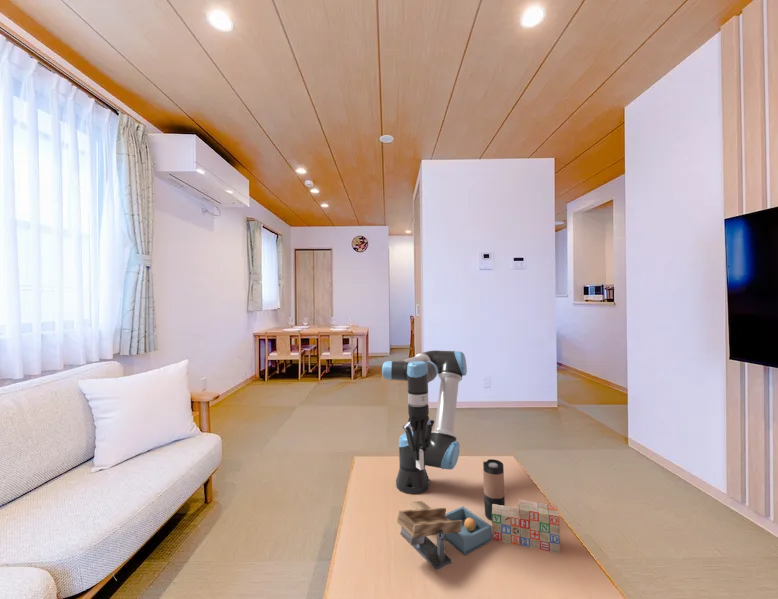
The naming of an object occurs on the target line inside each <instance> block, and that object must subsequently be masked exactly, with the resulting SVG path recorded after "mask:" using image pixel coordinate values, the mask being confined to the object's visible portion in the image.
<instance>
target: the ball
mask: <svg viewBox="0 0 778 599" xmlns="http://www.w3.org/2000/svg"><path fill="white" fill-rule="evenodd" d="M464 526H465V528H466V529H467V530H468V531H473V530H474V529H475V527H476V523H475V521H474V520H473V519H472V518H467V519H466V520H465V522H464Z"/></svg>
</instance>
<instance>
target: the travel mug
mask: <svg viewBox="0 0 778 599" xmlns="http://www.w3.org/2000/svg"><path fill="white" fill-rule="evenodd" d="M482 463H483V469H482V470H483V501H484V502H483V503H484V516H485V517H486V518H487V520H489V521H491V522H492V504H496V505H503V506H506V505H505V504H506V502H505V500H506V498H505V497H506V495H505V474H504V472H505V471H504V463H503V462H502V461H500V460H498V459H493V458H490V459H487V460H486V461H483V462H482Z"/></svg>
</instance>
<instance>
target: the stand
mask: <svg viewBox="0 0 778 599" xmlns="http://www.w3.org/2000/svg"><path fill="white" fill-rule="evenodd" d="M445 538H446V535H445V534H444V531H443V530H440V531H437V535H436V544H435V543H434V542H433V541H432V540H431V539H430V538H428V536H425V538H424V543H422V544H415V545H411V546H412V547H413V548H414V549H415V550H416V551H417V552H418V553H419V555H421V557H422V558H424V559H425V560H426V561H427V562H428V564H429V565H430V566H431V567H432V568H433V569H434V570H435V571H436V572H438V571H439V570H441V569H442V568H444V567H447V566H448V565H450V564H452V562H453V561H452V558H451V557H449V556H448V555H447V554H446V553H445V552H446V551H445V548H446V546H445V541H446V540H445Z"/></svg>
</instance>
